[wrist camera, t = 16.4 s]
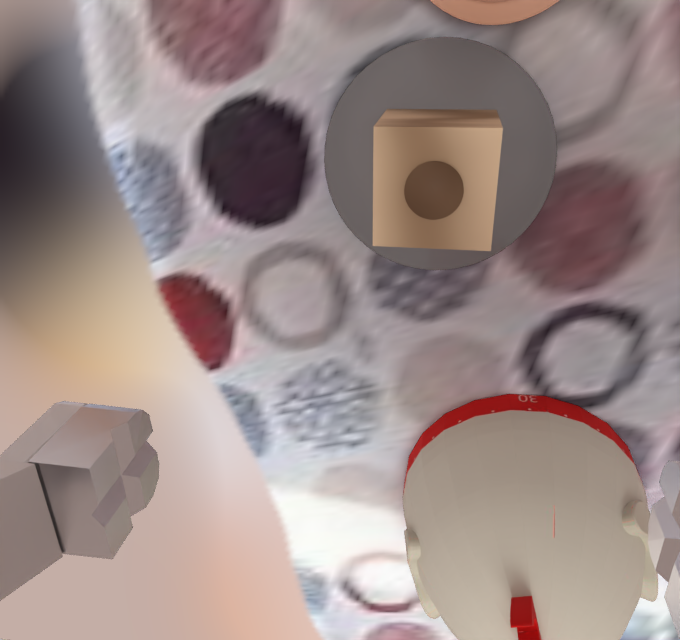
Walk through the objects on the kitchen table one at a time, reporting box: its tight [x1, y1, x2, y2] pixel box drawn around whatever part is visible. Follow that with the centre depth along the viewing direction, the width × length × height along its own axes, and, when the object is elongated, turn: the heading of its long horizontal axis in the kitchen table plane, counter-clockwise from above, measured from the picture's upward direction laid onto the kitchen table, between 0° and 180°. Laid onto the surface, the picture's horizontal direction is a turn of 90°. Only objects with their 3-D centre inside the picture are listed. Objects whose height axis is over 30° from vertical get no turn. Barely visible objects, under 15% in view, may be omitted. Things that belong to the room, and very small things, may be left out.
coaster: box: [324, 37, 557, 270], centre depth 30 cm, size 11×11×1 cm
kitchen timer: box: [403, 394, 658, 640], centre depth 31 cm, size 14×14×15 cm
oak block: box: [373, 109, 503, 251], centre depth 27 cm, size 5×5×5 cm
